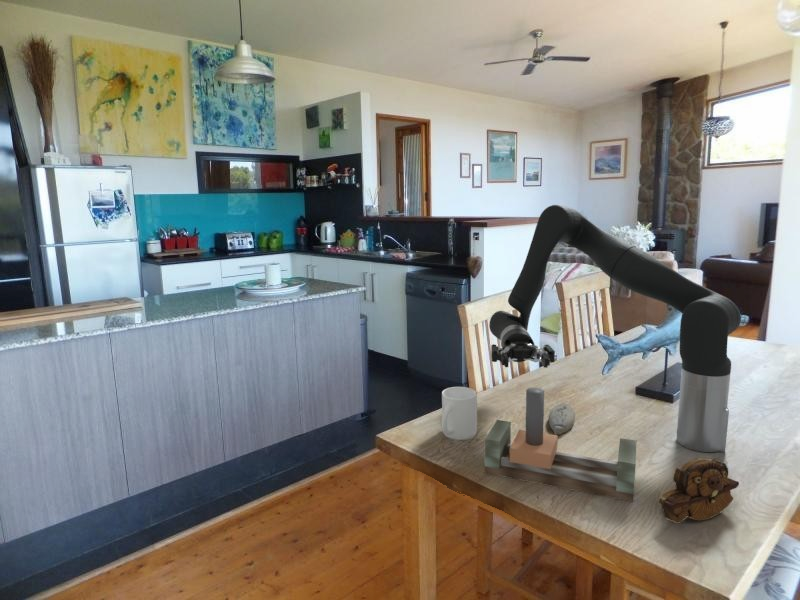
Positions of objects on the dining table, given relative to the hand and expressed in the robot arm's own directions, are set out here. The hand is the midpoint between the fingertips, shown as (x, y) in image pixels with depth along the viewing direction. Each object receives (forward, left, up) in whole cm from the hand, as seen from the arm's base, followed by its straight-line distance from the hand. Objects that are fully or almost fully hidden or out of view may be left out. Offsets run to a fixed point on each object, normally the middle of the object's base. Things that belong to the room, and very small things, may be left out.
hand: (526, 363), depth 116 cm
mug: (+16, +1, -20) cm, 25 cm away
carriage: (-4, +10, -16) cm, 20 cm away
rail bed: (-9, +10, -19) cm, 24 cm away
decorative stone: (-6, -15, -20) cm, 25 cm away
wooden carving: (-33, +16, -20) cm, 42 cm away
